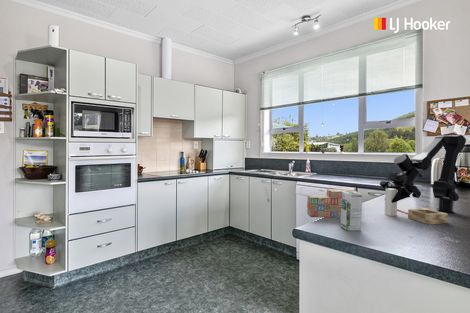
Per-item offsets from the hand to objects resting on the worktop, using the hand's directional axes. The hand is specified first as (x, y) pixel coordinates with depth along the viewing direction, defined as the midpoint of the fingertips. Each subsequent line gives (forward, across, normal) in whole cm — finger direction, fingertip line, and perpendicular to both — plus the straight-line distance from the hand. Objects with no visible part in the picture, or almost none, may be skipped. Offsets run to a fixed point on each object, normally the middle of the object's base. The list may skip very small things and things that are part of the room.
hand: (388, 201), depth 123 cm
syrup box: (+28, +13, -18) cm, 35 cm away
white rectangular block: (+4, 0, +6) cm, 7 cm away
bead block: (-2, +11, +12) cm, 16 cm away
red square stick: (-4, -4, +13) cm, 15 cm away
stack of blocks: (+25, -5, -15) cm, 29 cm away
